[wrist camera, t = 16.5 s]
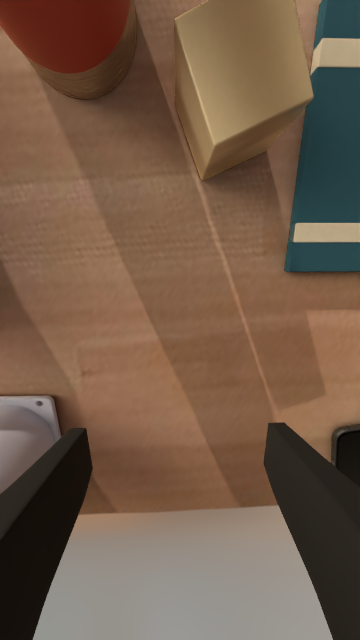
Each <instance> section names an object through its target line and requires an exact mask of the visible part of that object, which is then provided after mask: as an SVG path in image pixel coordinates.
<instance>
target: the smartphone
mask: <svg viewBox="0 0 360 640" xmlns="http://www.w3.org/2000/svg"><path fill="white" fill-rule="evenodd" d="M331 464H332V465H333V466H334V467H336V468H337V469H338V470H339V471H340V472H342V473H343V474H344V475H345V476H346V477H348V478H349V479H350V480H351V481H352V482H354V483H355V484H356V485H357V486H359V487H360V424H357V425H350V426H344V427H340V428H338V429H336V430H335V431H334V432H333V435H332V452H331Z"/></svg>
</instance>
